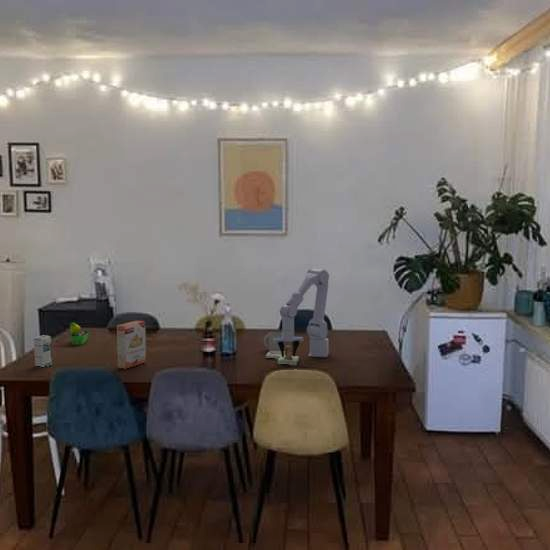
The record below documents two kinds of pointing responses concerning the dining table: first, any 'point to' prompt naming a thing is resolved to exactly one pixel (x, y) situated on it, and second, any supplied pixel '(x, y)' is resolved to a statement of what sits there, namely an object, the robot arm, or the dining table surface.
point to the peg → (288, 352)
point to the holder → (286, 361)
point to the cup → (272, 345)
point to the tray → (274, 354)
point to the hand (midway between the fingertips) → (288, 356)
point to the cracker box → (131, 344)
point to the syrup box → (43, 350)
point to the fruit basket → (78, 334)
